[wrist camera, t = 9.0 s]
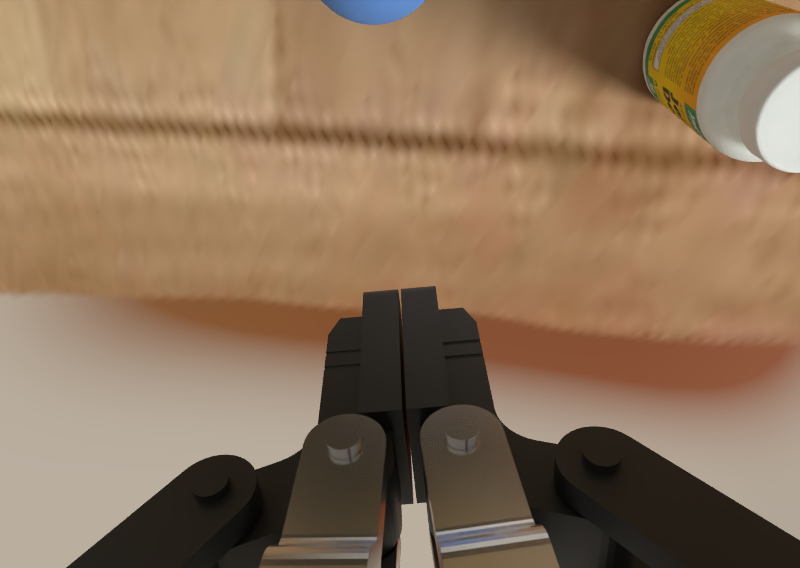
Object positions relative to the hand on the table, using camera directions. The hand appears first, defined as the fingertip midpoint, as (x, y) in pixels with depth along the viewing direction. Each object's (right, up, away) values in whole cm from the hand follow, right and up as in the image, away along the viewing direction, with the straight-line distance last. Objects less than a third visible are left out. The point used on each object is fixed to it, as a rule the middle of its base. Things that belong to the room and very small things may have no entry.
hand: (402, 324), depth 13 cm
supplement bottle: (+13, +12, +16) cm, 24 cm away
